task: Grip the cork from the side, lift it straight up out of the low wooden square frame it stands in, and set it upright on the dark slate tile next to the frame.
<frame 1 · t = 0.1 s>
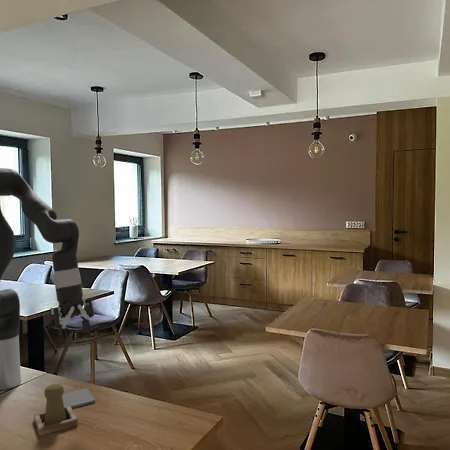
hand: (75, 336, 130), 22 cm above the table, tool pointing down, fingers open, 8 cm apart
slate tile: (75, 400, 136), on the table
wooden square frame: (55, 422, 122), on the table
cork: (55, 423, 122), resting in wooden square frame
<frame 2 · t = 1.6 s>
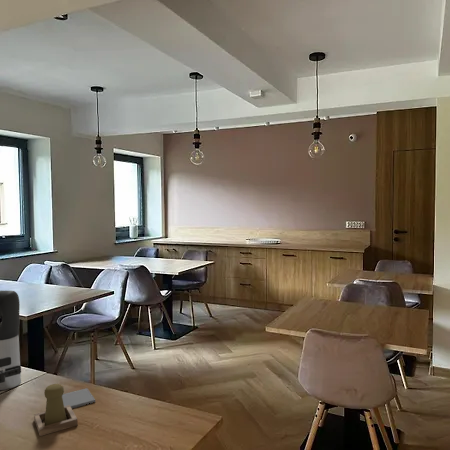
hand: (15, 364, 114), 20 cm above the table, tool horizontal, fingers open, 8 cm apart
nothing on the table moved.
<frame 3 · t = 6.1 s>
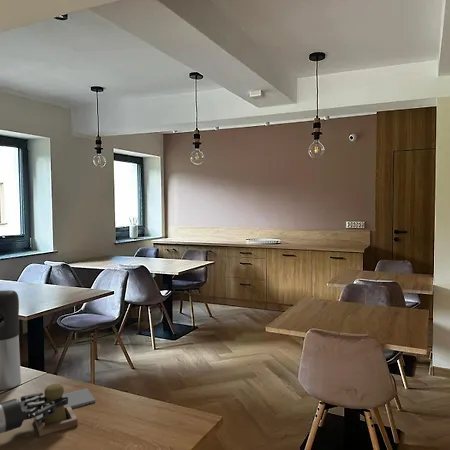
hand: (64, 397, 124), 7 cm above the table, tool horizontal, fingers closed on cork, 4 cm apart
cork: (55, 423, 122), resting in wooden square frame, touching gripper
when the fingers open (9 cm above the table, at t = 10.6 s): cork moves 2 cm, point 1 cm above the table.
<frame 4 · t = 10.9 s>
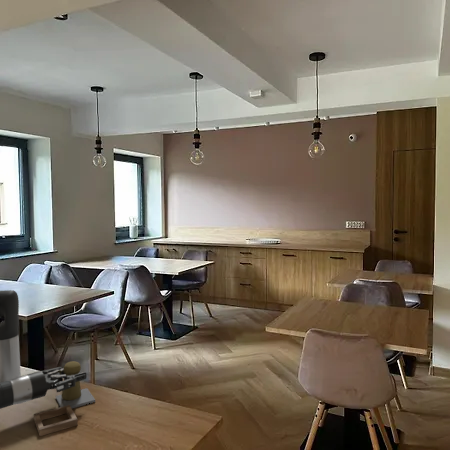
hand: (81, 372, 137), 9 cm above the table, tool horizontal, fingers open, 6 cm apart
cork: (71, 395, 137), point 1 cm above the table, touching gripper
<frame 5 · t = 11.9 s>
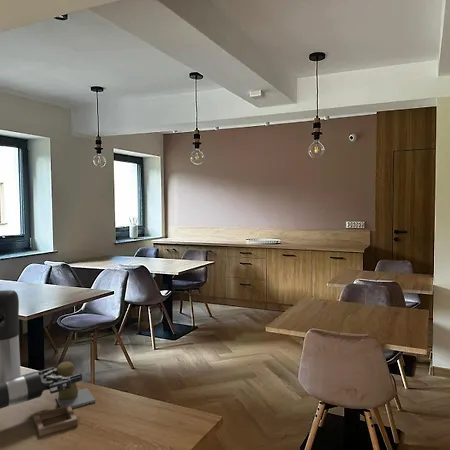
hand: (75, 372, 136), 9 cm above the table, tool horizontal, fingers open, 8 cm apart
cork: (68, 394, 137), point 1 cm above the table, touching gripper, slate tile
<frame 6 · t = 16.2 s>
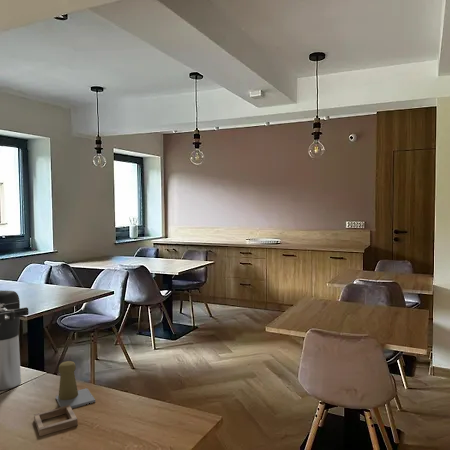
hand: (23, 308, 127), 32 cm above the table, tool horizontal, fingers open, 8 cm apart
cork: (68, 396, 137), point 1 cm above the table, touching slate tile
at the end: cork inside the target area on the slate tile (3.2 cm from its centre), point 0.6 cm above the slate tile's base; cork tilted 0°; the gripper is holding nothing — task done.
